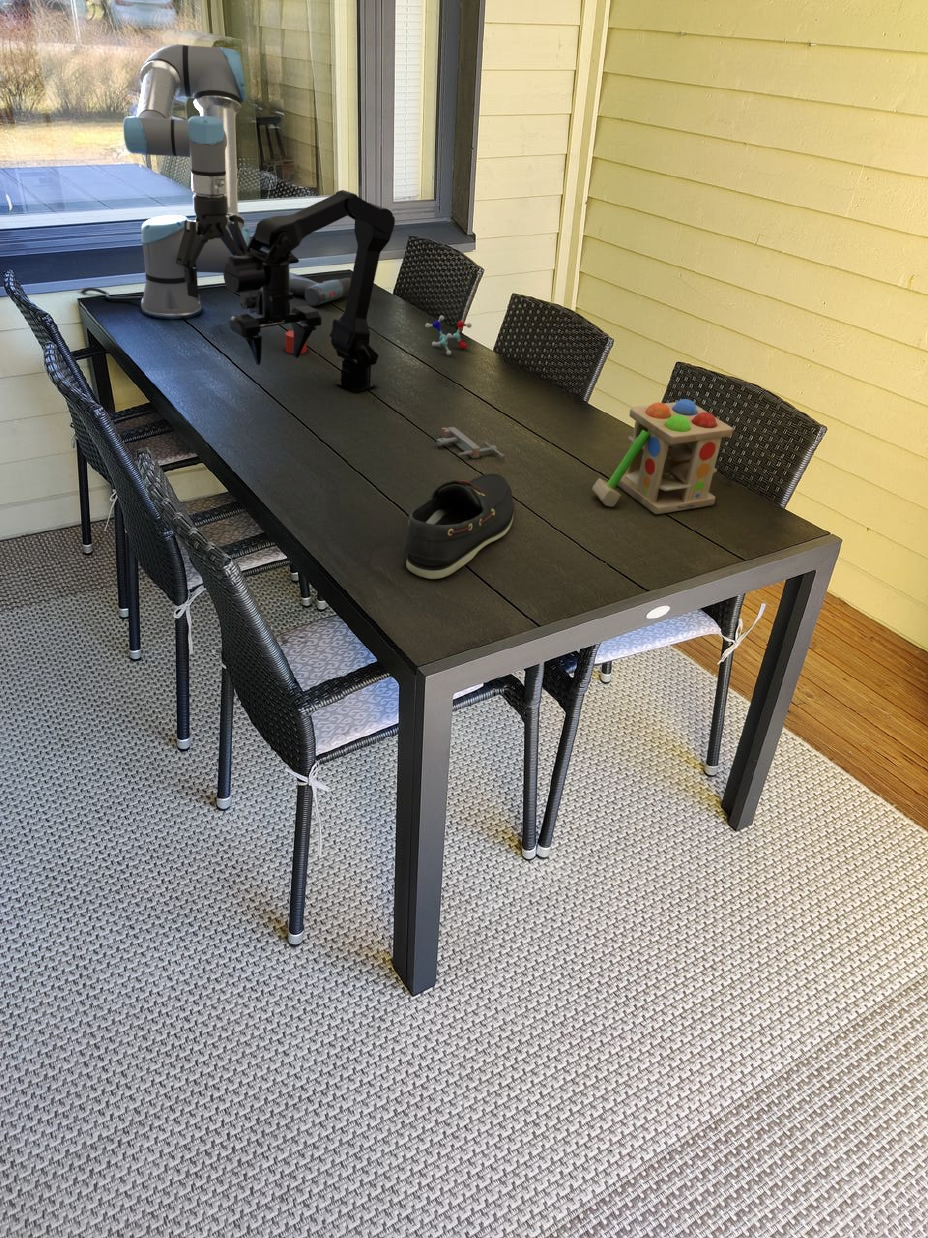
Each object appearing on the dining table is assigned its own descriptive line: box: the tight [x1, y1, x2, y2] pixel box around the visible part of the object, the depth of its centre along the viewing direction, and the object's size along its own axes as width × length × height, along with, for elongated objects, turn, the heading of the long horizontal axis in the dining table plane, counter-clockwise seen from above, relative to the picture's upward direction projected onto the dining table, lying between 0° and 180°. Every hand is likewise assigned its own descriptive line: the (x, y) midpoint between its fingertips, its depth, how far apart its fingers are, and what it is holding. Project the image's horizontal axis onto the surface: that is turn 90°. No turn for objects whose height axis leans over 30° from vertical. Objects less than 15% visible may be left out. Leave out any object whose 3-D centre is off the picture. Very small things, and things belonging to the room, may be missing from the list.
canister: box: [284, 329, 307, 355], centre depth 241 cm, size 5×5×4 cm
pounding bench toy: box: [591, 398, 734, 515], centre depth 186 cm, size 23×14×18 cm, turn 116°
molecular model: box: [424, 315, 472, 356], centre depth 250 cm, size 12×10×10 cm
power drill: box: [289, 271, 352, 307], centre depth 280 cm, size 5×19×20 cm
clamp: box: [436, 426, 507, 460], centre depth 201 cm, size 15×2×10 cm
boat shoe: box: [403, 472, 515, 580], centre depth 170 cm, size 13×33×10 cm, turn 147°
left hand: (215, 291), depth 230 cm, fingers open, 13 cm apart
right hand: (277, 360), depth 208 cm, fingers open, 9 cm apart
